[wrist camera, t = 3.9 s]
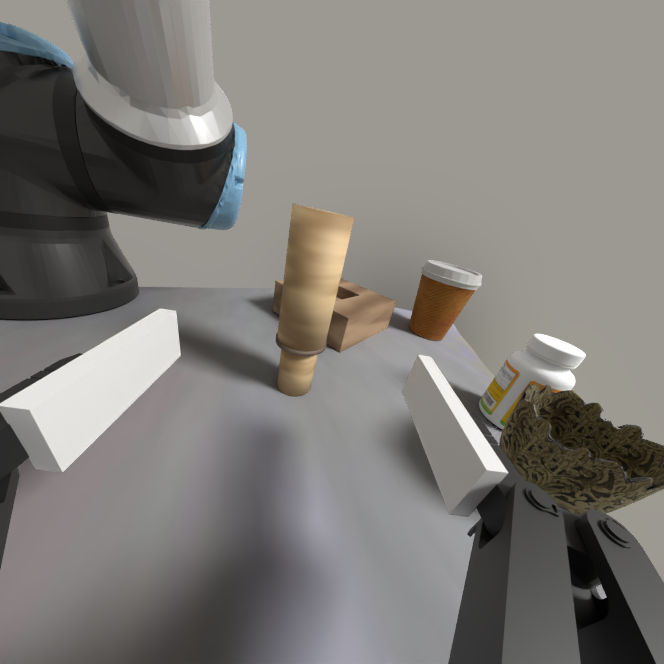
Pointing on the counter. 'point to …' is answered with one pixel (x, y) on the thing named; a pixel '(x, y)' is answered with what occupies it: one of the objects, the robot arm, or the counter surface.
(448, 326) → the disposable coffee cup
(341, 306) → the seat block
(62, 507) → the counter surface
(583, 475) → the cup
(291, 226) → the leg
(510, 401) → the supplement bottle
